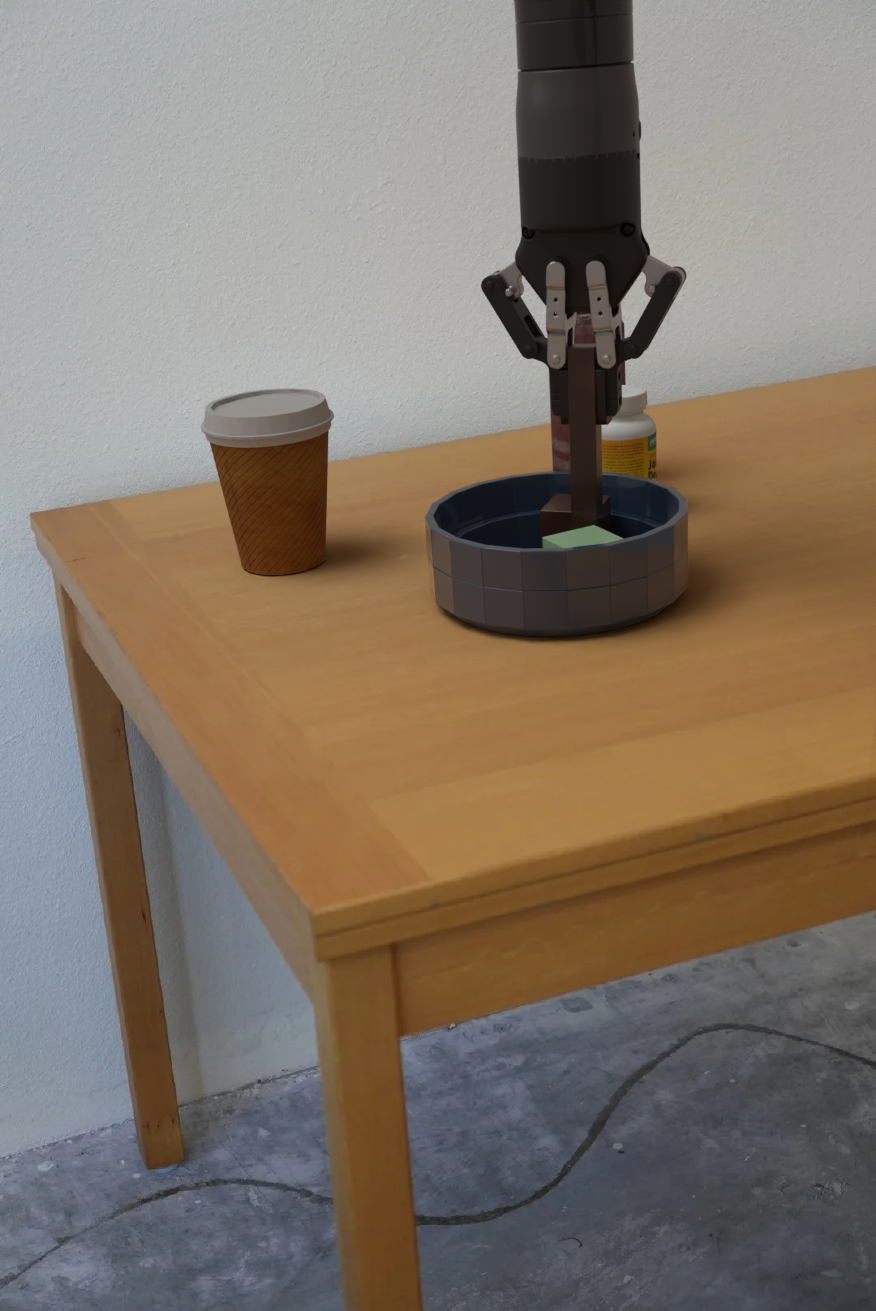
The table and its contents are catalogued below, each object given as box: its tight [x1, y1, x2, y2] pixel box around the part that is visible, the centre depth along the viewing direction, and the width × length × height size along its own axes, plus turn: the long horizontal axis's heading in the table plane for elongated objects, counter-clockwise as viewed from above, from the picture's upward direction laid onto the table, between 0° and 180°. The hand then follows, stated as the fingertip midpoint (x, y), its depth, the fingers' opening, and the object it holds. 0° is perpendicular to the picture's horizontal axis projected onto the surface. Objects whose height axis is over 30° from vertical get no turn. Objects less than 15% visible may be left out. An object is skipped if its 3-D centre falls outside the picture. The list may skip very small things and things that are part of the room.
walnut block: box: [540, 493, 611, 548], centre depth 103 cm, size 4×4×4 cm
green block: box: [542, 525, 623, 548], centre depth 96 cm, size 4×4×4 cm
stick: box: [567, 344, 603, 530], centre depth 98 cm, size 2×2×14 cm
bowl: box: [424, 470, 689, 638], centre depth 99 cm, size 17×17×6 cm
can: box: [546, 311, 627, 471], centre depth 120 cm, size 6×6×14 cm
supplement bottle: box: [601, 384, 658, 481], centre depth 113 cm, size 5×5×10 cm
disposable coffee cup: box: [200, 387, 335, 576], centre depth 107 cm, size 10×10×12 cm
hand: (587, 420), depth 97 cm, fingers closed on stick, 2 cm apart
